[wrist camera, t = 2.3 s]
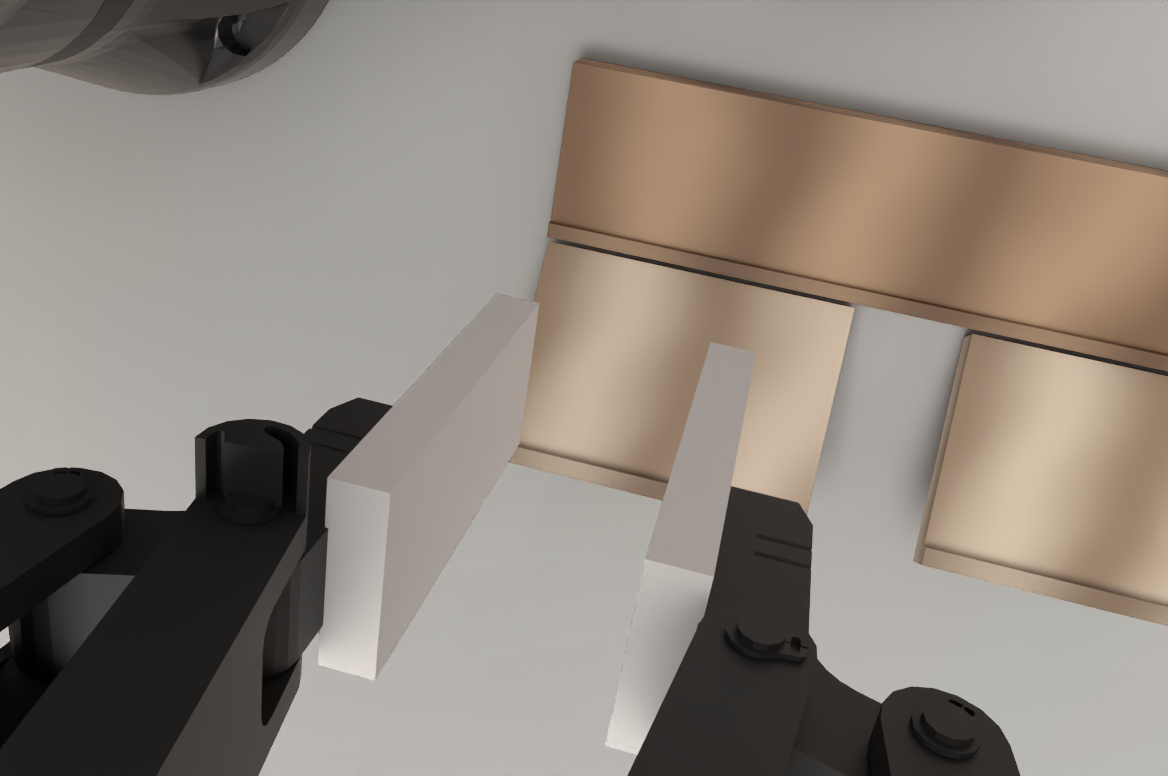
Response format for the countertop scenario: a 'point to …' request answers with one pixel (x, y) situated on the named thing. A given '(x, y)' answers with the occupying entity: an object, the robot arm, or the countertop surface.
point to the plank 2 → (1053, 479)
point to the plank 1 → (672, 373)
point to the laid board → (868, 210)
